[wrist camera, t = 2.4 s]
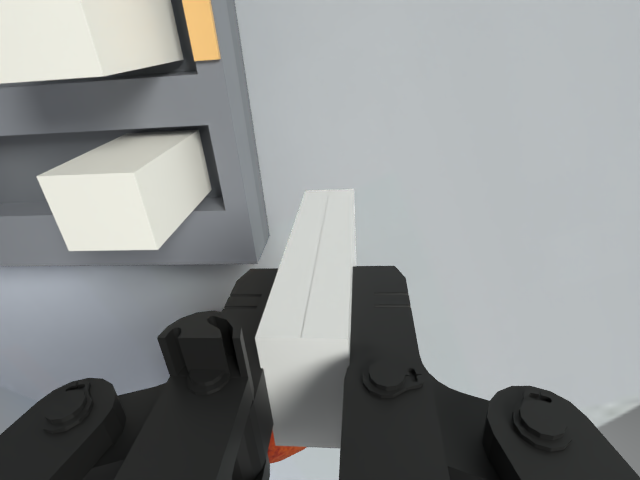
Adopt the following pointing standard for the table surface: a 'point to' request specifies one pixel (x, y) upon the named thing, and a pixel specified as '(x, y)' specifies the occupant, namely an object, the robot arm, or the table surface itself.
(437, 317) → the table surface
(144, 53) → the white cuboid
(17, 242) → the switch board
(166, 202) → the tab
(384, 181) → the table surface
